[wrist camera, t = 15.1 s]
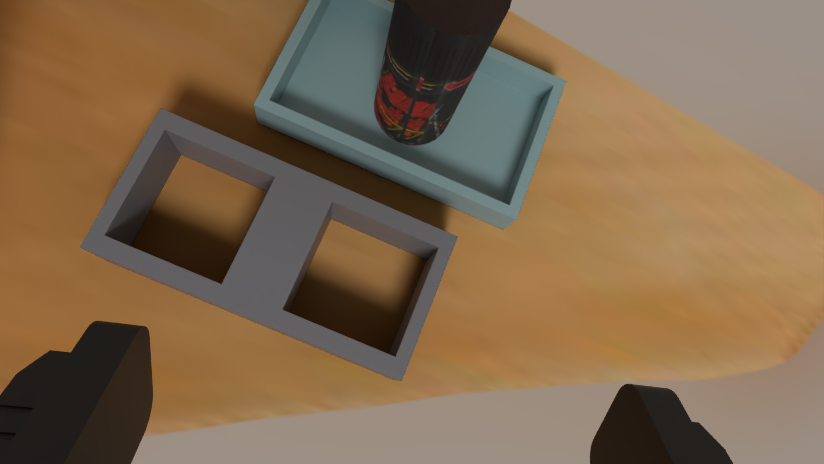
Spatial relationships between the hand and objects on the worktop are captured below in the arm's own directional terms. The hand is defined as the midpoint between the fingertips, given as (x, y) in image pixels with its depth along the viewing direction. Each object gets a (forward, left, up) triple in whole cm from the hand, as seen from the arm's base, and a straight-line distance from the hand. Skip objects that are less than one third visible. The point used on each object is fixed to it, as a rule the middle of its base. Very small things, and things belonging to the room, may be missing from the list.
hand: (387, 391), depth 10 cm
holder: (-1, +9, -31) cm, 32 cm away
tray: (+11, +17, -31) cm, 37 cm away
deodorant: (+11, +17, -30) cm, 37 cm away
